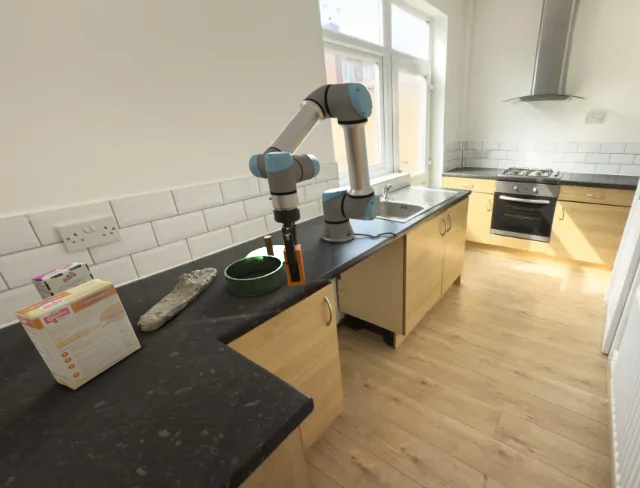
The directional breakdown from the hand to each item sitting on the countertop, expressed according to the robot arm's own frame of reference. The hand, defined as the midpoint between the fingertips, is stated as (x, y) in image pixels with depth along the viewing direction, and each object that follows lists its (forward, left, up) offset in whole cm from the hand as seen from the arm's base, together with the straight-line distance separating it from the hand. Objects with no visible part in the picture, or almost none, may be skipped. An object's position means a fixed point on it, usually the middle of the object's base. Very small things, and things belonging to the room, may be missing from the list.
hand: (296, 276), depth 103 cm
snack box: (0, 0, -2) cm, 2 cm away
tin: (+15, -11, -6) cm, 20 cm away
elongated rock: (+37, -5, -7) cm, 38 cm away
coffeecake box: (+46, +23, -7) cm, 52 cm away
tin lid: (+13, -33, -6) cm, 36 cm away
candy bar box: (+63, 0, -7) cm, 63 cm away
